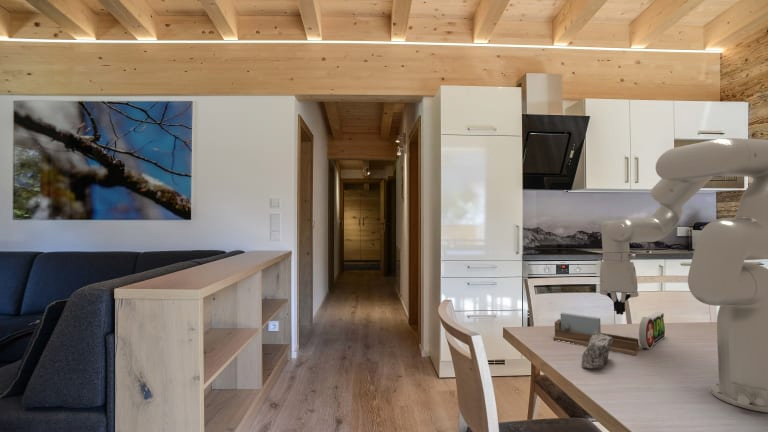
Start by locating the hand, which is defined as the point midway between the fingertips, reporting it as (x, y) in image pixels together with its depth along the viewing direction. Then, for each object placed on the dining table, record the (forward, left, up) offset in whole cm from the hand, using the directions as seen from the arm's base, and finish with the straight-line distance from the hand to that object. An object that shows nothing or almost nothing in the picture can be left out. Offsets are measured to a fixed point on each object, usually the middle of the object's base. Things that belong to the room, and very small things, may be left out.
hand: (619, 313), depth 117 cm
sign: (+14, -7, -12) cm, 20 cm away
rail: (+1, +8, -12) cm, 14 cm away
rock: (-19, +4, -12) cm, 23 cm away
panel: (0, +12, -11) cm, 16 cm away
